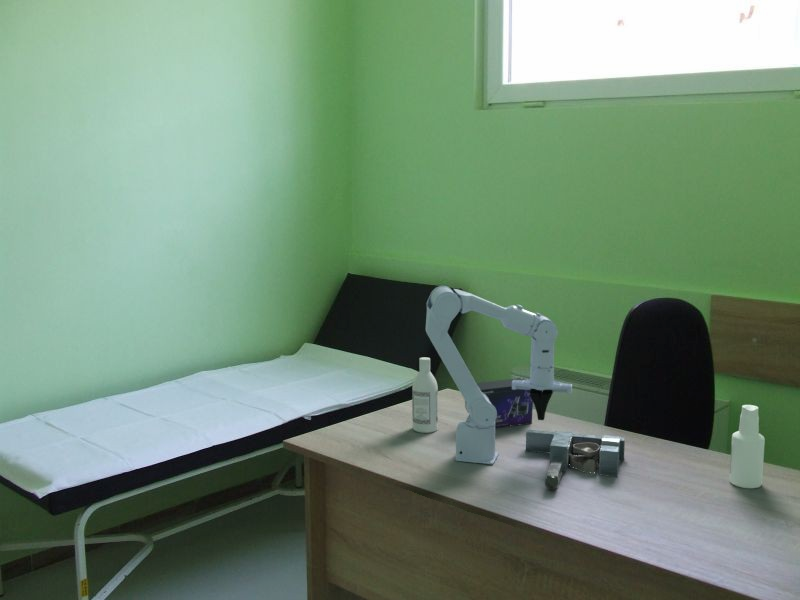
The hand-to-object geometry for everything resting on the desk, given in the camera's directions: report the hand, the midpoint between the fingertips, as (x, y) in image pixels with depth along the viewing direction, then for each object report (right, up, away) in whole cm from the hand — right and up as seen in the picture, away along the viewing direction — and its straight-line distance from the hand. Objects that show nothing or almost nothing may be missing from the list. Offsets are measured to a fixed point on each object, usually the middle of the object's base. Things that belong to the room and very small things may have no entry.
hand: (541, 418), depth 204 cm
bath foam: (-28, -6, +22) cm, 36 cm away
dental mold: (+10, -11, -6) cm, 16 cm away
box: (-7, -5, +26) cm, 27 cm away
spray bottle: (+43, -12, -17) cm, 48 cm away
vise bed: (+7, -10, -3) cm, 13 cm away
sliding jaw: (+2, -11, -10) cm, 15 cm away
